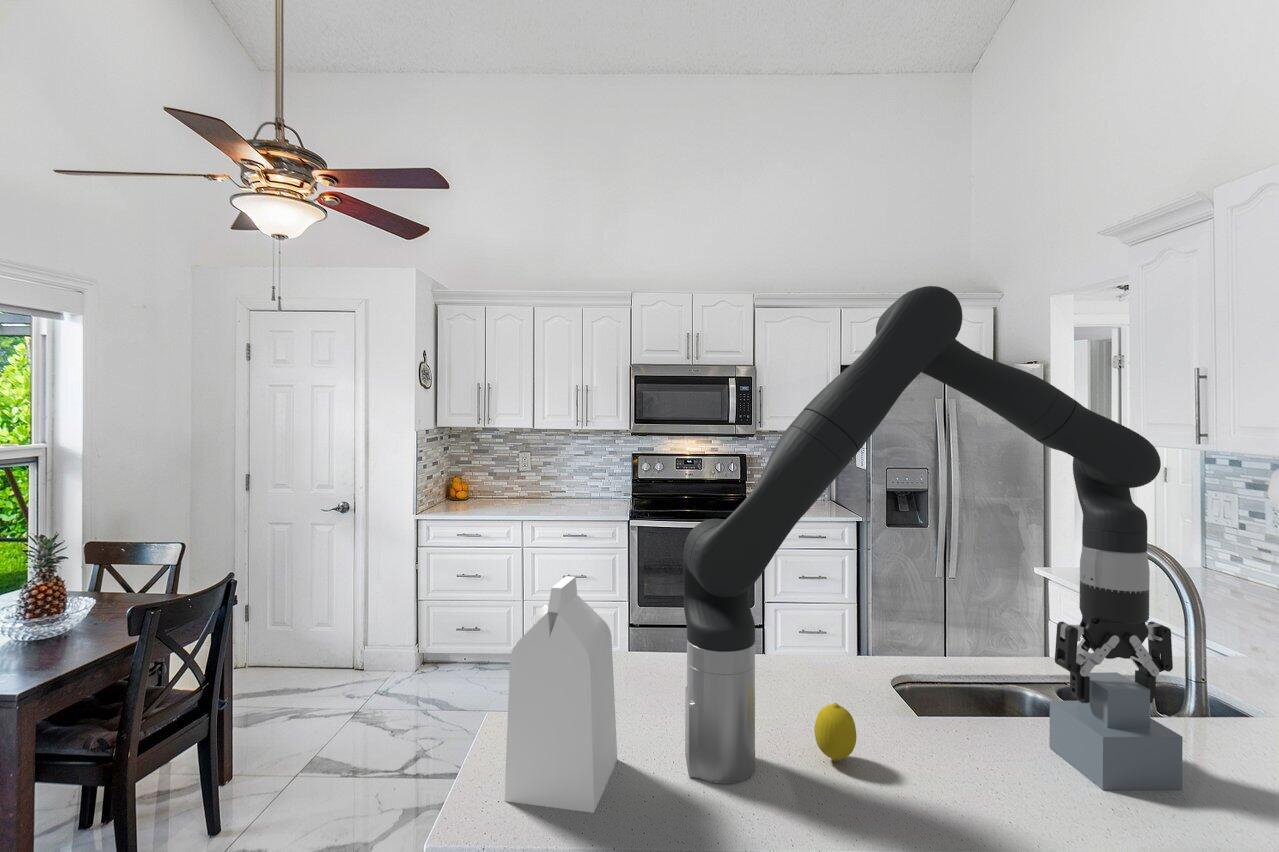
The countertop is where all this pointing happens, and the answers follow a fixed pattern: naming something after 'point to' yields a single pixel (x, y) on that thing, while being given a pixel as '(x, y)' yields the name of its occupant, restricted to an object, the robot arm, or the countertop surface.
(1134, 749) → the gray stepped step block
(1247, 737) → the countertop surface
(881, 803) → the countertop surface
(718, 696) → the robot arm
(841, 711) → the lemon
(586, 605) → the milk
